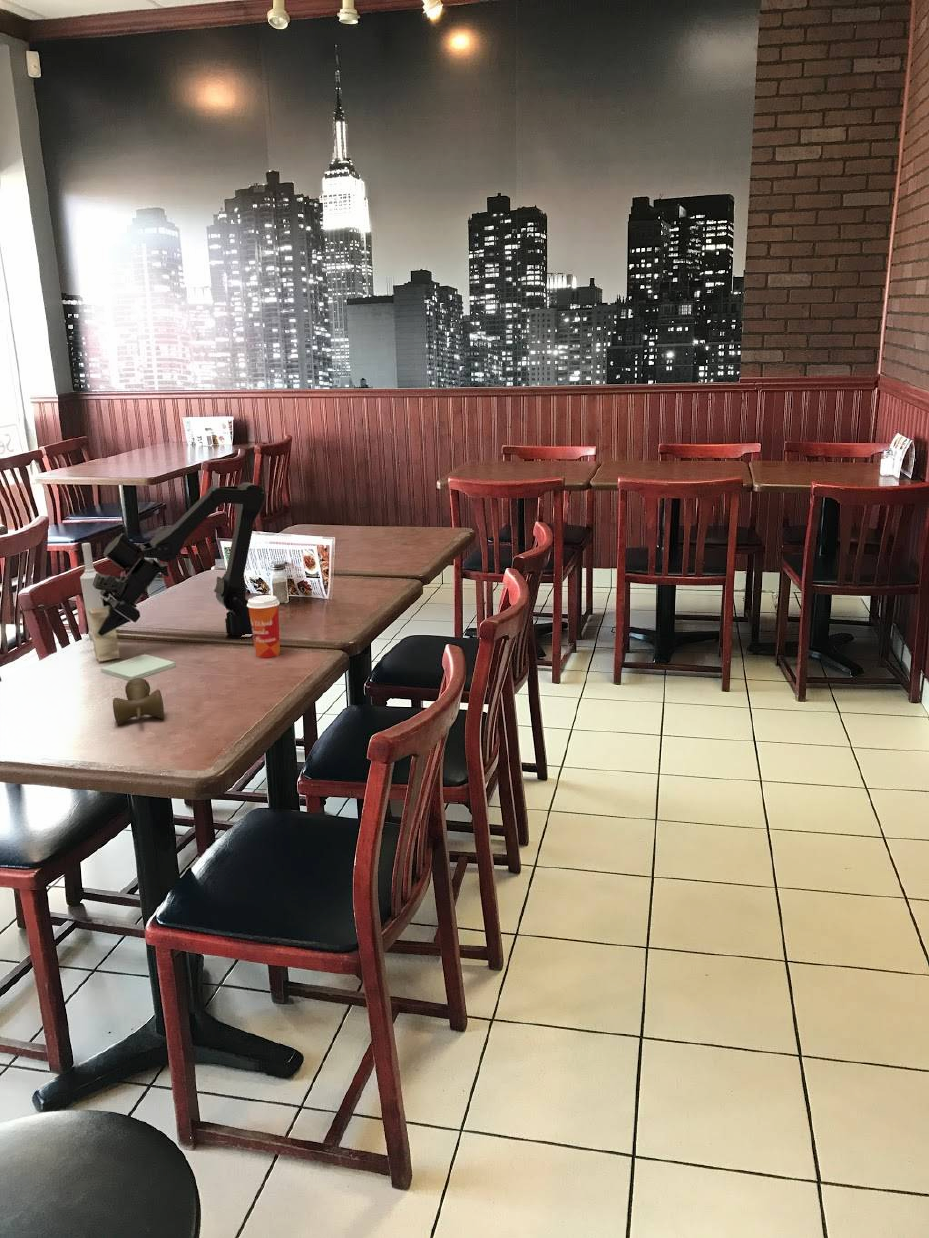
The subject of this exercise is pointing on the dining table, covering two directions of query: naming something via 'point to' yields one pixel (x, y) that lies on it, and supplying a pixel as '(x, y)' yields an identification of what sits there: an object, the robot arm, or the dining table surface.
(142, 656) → the sage pad
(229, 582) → the robot arm
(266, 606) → the paper cup
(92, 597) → the bottle
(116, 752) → the dining table surface
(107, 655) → the birch block
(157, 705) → the kendama
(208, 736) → the dining table surface
